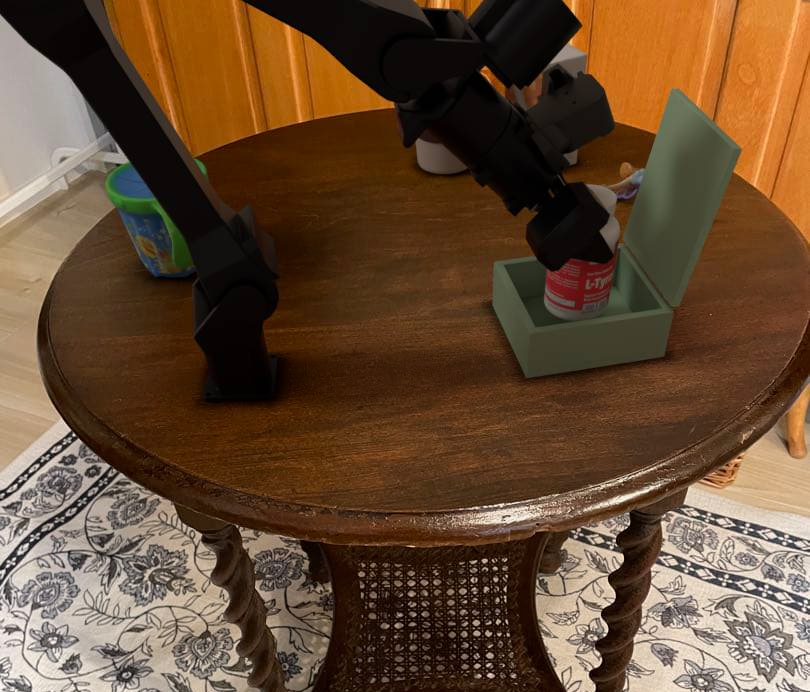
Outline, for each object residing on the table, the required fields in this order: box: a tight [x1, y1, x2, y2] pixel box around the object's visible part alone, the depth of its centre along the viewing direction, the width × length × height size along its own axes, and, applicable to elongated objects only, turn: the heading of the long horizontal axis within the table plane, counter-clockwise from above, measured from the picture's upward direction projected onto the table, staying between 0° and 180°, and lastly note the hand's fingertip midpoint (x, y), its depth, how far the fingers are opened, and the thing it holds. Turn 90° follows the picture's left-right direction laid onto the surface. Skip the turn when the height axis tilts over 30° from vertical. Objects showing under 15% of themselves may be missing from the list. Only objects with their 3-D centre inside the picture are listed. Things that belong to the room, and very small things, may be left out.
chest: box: [491, 242, 675, 379], centre depth 84 cm, size 14×13×5 cm
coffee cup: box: [415, 63, 486, 175], centre depth 106 cm, size 10×10×15 cm
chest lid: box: [622, 87, 743, 308], centre depth 77 cm, size 14×13×1 cm
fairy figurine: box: [599, 161, 645, 200], centre depth 100 cm, size 12×5×12 cm
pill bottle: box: [544, 183, 621, 322], centre depth 79 cm, size 6×6×11 cm
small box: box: [504, 42, 588, 167], centre depth 106 cm, size 8×6×13 cm
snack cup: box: [105, 157, 210, 279], centre depth 94 cm, size 16×10×10 cm
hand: (597, 241), depth 79 cm, fingers closed on pill bottle, 6 cm apart
